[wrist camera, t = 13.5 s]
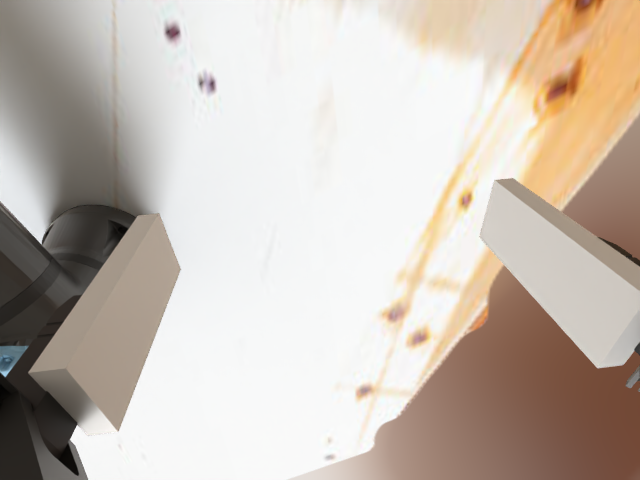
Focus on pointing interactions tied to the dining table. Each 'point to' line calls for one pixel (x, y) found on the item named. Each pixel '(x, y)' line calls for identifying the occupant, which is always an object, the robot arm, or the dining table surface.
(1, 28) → the dining table surface
